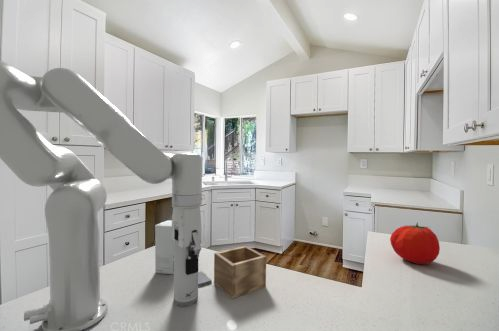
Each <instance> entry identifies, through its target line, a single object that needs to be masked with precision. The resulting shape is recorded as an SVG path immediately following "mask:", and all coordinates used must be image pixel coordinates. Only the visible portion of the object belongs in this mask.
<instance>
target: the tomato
mask: <svg viewBox="0 0 499 331" xmlns="http://www.w3.org/2000/svg"><path fill="white" fill-rule="evenodd" d="M389 242H390V246H391V248H392V249H393V251H394V252H395V253H396V254H397V256H398V257H400V258H402V259H403V260H405V261H408V262H409V263H414V264H416V265H418V264H419V265H422V264H423V265H425V264H426V265H427V264H431V263H432V262H434V261H435V260H436V259H437V258H438V256H439V255H440V249H441V247H440V241H439V239H438V237H437V234H435V233H434V231H433V230H432V229H431V228H430V227H428V226H419V223H418V222H417V223H416V224H414V225H403V226H400V227H397V228H396V229H395V230H393V232H392V233H391V235H390V238H389Z"/></svg>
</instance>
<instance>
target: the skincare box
mask: <svg viewBox="0 0 499 331" xmlns="http://www.w3.org/2000/svg"><path fill="white" fill-rule="evenodd" d="M154 229H155V230H154V231H155V232H154V234H155V235H154V236H155V237H154V238H155V239H154V241H155V243H154V246H155V247H154V248H155V250H154V254H155V255H154V256H155V258H154V259H155V261H154V262H155V266H154V267H155V269H154V270H155V273H157V274H164V275H165V274H166V275H174V241H173V240H172V238H171V229H172V219H169V220H165V221H162V222H160V223H157V224H155V225H154Z"/></svg>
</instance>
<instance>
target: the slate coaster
mask: <svg viewBox="0 0 499 331" xmlns="http://www.w3.org/2000/svg"><path fill="white" fill-rule="evenodd" d="M211 283H212V279H211V278H210V277H209V276H208V275H207V274H205V273H204V272H203V271H198V288H199V287H203V286H207V285H209V284H211Z"/></svg>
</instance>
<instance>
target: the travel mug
mask: <svg viewBox="0 0 499 331" xmlns="http://www.w3.org/2000/svg"><path fill="white" fill-rule="evenodd" d="M174 235H175V236H174V273H173V303H174V304H175V305H177V306H178V307H179V306H180V307H189V306H191V305H194V304H195V303H196V302H197V301H198V298H199V287H198V272H199V271H198V272H197V273H193V274H189V275H186V259H187V254H186V248H185V249H183V248H181V247H180V246H179V244H178V243H179V241H178V235H179V234H178V230H176V229H175V232H174ZM191 245H193V242H190V244H189V246H191ZM192 250H194V248H190V253H191V251H192Z"/></svg>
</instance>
